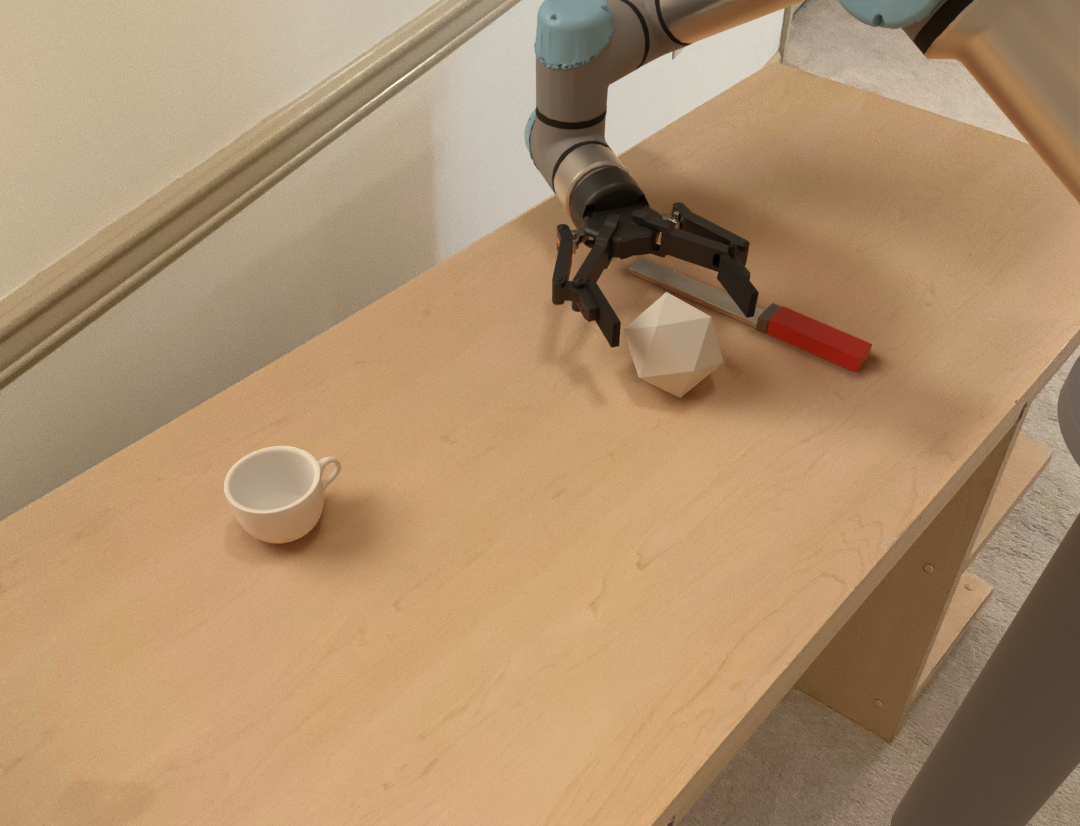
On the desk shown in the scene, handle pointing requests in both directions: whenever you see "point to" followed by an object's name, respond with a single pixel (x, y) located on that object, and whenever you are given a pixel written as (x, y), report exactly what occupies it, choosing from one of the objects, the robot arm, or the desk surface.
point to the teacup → (278, 492)
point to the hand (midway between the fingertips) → (685, 320)
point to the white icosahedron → (673, 345)
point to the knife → (764, 317)
